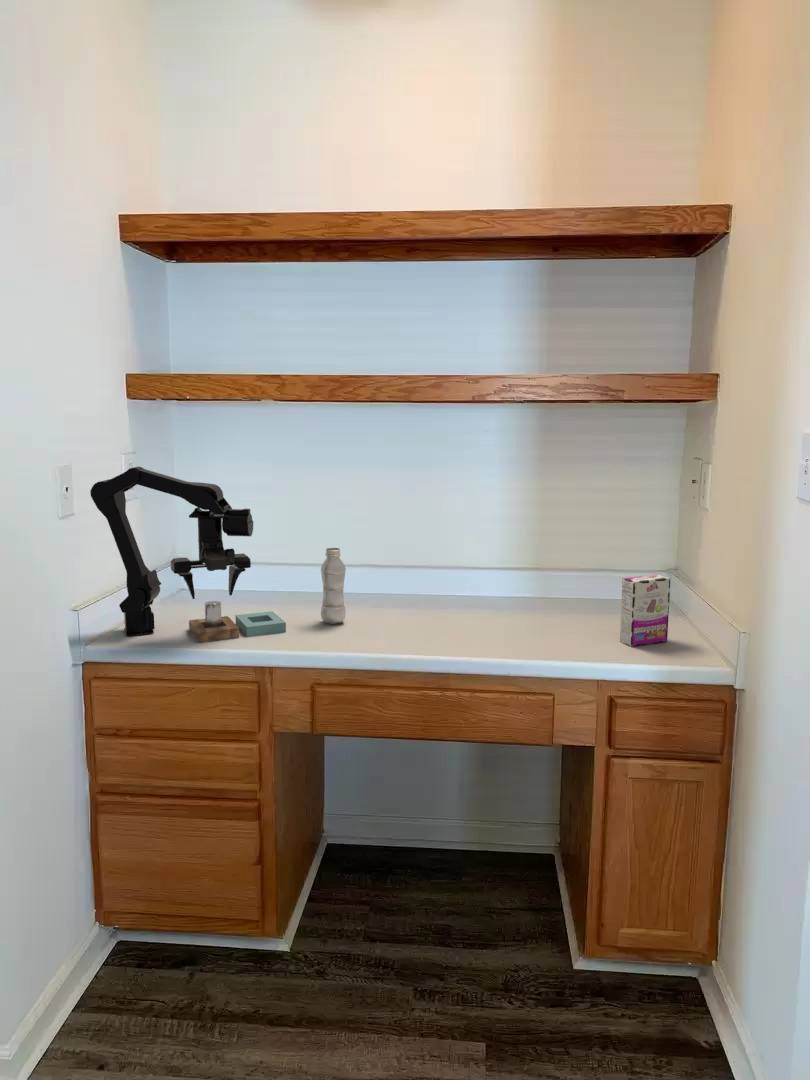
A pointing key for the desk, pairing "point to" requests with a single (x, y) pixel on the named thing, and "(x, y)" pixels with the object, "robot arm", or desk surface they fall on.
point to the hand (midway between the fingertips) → (212, 596)
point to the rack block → (260, 623)
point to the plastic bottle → (333, 587)
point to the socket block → (213, 630)
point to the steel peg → (213, 614)
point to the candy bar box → (645, 610)
